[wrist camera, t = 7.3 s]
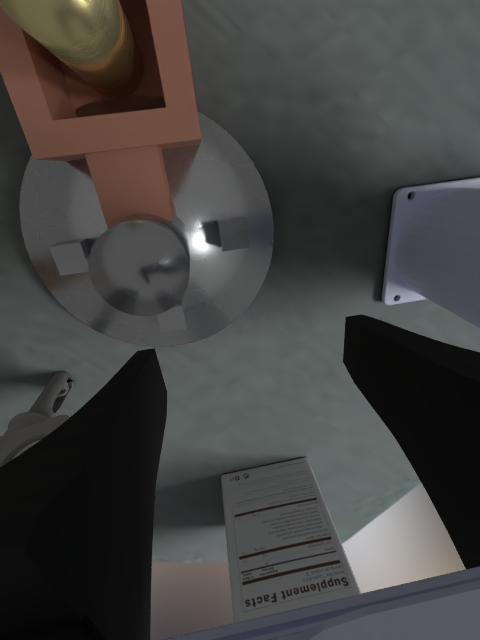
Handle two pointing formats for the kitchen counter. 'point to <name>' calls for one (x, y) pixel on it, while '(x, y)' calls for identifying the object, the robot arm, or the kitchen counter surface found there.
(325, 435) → the kitchen counter surface
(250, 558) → the supplement box
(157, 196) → the bracket
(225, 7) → the kitchen counter surface
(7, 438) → the mechanical component
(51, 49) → the gold capsule
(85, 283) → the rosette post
